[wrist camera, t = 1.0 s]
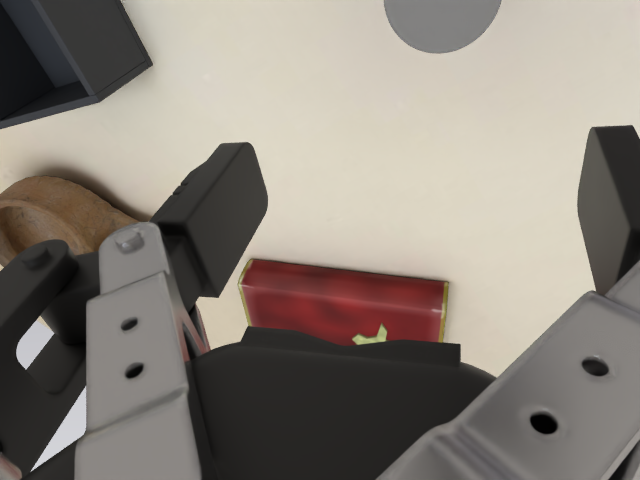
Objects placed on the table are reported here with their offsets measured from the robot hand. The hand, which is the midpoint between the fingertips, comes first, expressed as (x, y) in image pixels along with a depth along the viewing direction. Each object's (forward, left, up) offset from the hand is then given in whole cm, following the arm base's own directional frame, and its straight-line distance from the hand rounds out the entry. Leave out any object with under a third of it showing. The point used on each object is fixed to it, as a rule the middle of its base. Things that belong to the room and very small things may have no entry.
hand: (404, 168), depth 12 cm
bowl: (+19, -39, -25) cm, 50 cm away
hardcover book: (+32, -12, -25) cm, 43 cm away
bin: (-1, -31, -25) cm, 40 cm away
